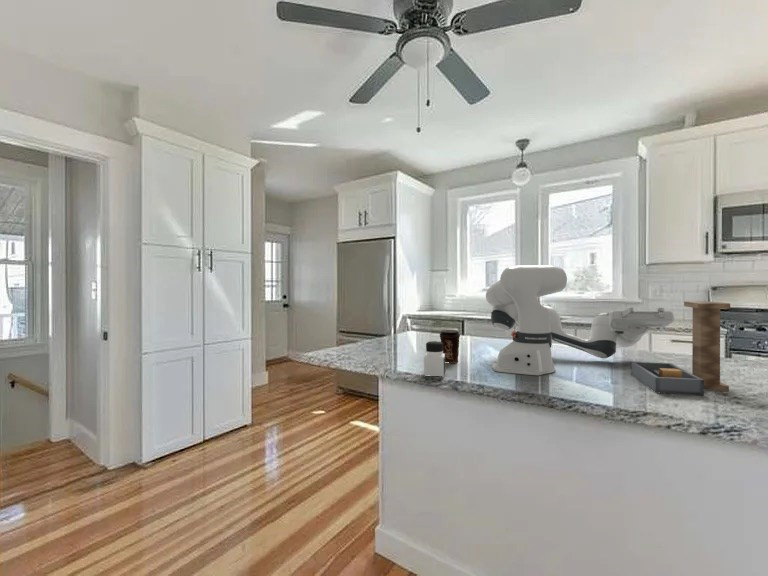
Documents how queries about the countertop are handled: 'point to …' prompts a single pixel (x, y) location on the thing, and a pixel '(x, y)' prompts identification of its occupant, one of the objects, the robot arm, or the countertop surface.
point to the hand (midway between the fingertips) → (646, 309)
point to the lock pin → (667, 372)
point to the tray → (667, 379)
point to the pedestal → (707, 343)
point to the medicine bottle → (434, 359)
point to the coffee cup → (450, 345)
